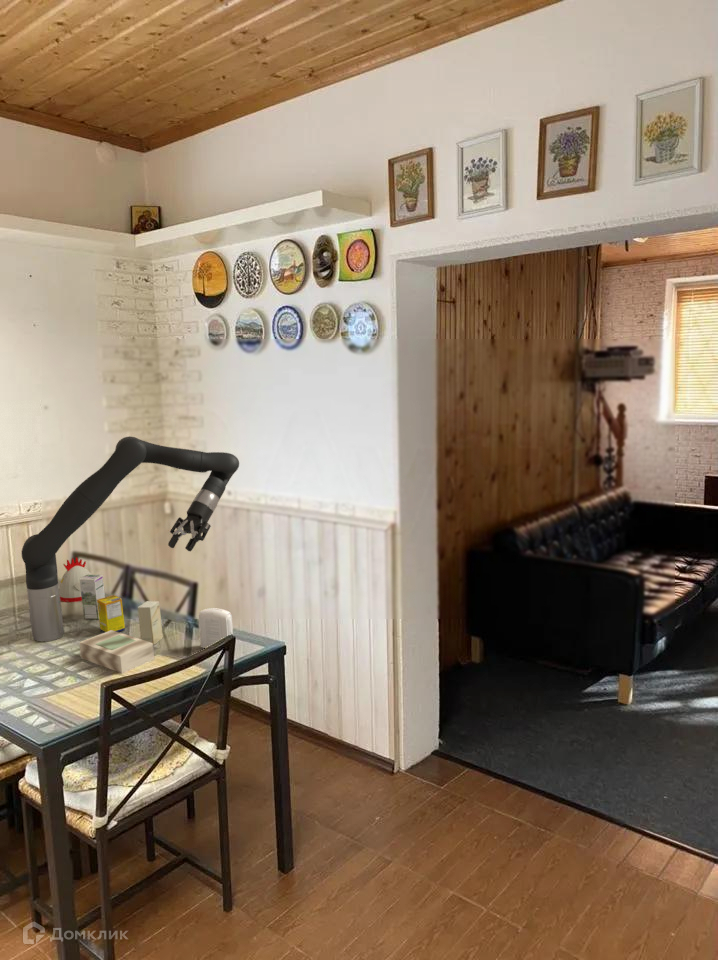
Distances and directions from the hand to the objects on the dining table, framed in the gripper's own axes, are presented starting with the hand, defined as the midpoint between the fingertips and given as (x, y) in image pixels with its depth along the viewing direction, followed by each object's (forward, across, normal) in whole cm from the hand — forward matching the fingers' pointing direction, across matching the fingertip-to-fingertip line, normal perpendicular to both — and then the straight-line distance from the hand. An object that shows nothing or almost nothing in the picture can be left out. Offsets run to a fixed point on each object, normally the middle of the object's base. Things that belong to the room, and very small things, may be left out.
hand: (179, 548), depth 230 cm
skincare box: (+28, 0, +9) cm, 30 cm away
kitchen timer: (+19, -62, +19) cm, 68 cm away
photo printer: (+24, +22, +14) cm, 35 cm away
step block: (+38, +2, -1) cm, 38 cm away
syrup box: (+26, -36, +12) cm, 46 cm away
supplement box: (+29, -19, +8) cm, 36 cm away
